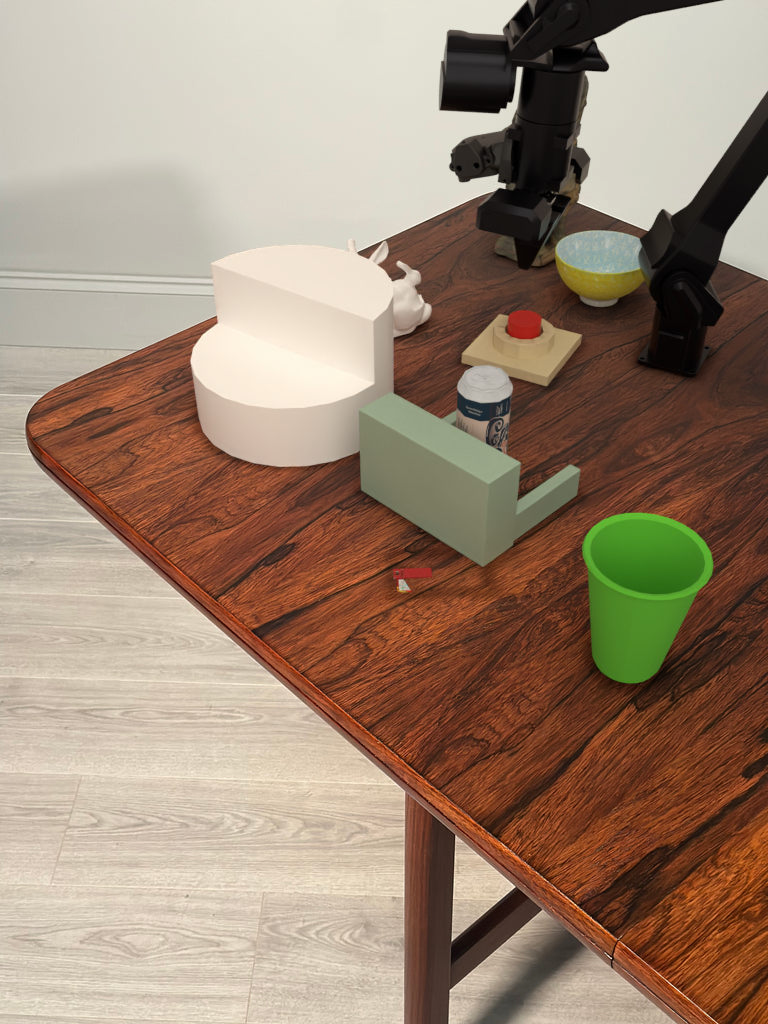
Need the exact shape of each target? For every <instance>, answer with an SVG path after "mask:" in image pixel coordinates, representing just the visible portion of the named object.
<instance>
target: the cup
mask: <svg viewBox="0 0 768 1024" xmlns="http://www.w3.org/2000/svg"><path fill="white" fill-rule="evenodd" d="M581 545H582V546H581V551H582V558H583V560H584V563H585V565H586V567H587V577H588V578H587V579H588V580H587V581H588V601H589V620H590V621H589V623H590V624H589V625H590V642H591V654H592V655H591V656H592V659H593V662H594V664H595V666H596V667H597V668H598V670H599V671H600V672H601V673H602V674H603V675H604V676H606V677H608V678H609V679H611V680H613V681H616V682H619V683H622V684H623V683H625V684H638V683H644V682H645V681H647V680H649V679H651V678H652V677H653V676H654V675H656V674H657V673H658V671H659V670H660V668H661V667H662V664H663V663H664V660H665V658H666V657H667V655H668V652H669V651H670V648H671V647H672V645H673V642H674V641H675V638H676V637H677V634H678V632H679V631H680V628H681V626H682V625H683V623H684V620H685V618H686V617H687V615H688V612H689V610H690V608H691V606H692V604H693V603H694V601H695V599H696V597H697V594H698V592H699V591H700V590H701V589H702V588H703V587H704V586H706V585H707V583H708V582H709V580H710V578H712V575H713V571H714V570H713V569H714V561H713V560H714V559H713V554H712V551H711V550H710V548H709V547H708V545H707V543H706V542H705V540H704V539H703V538H702V537H701V536H700V535H699V534H698V533H697V532H696V531H694V530H693V529H691V528H690V527H688V526H687V525H686V524H684V523H682V522H679V521H677V520H676V519H672V518H670V517H668V516H667V517H666V516H663V515H661V514H657V513H655V514H654V513H647V512H624V513H621V514H619V513H618V514H615V515H614V514H613V515H611V516H609V517H606V518H604V519H602V520H600V521H599V522H598V523H596V524H595V525H593V526H592V527H591V528H590V530H589V531H588V532H587V533H586V535H585V536H584V539H583V542H582V544H581Z"/></svg>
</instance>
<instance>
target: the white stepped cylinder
mask: <svg viewBox="0 0 768 1024" xmlns="http://www.w3.org/2000/svg"><path fill="white" fill-rule="evenodd" d="M210 271H211V279H212V287H213V295H214V303H215V304H214V305H215V311H216V318H217V323H216V324H215V325H213V326H212V327H210V328H209V329H208V330H207V331H205V332H204V333H203V334H201V337H200V338H199V339H198V340H197V342H196V343H195V344H194V345H193V348H192V352H191V356H190V368H191V374H192V382H193V387H194V394H195V401H196V408H197V415H198V420H199V424H200V427H201V430H202V433H203V434H204V435H205V436H206V438H207V439H208V440H209V441H210V442H211V443H212V445H213V446H215V447H216V448H218V449H220V450H221V451H223V452H225V454H227V455H229V456H230V457H234V458H237V459H239V460H243V461H245V462H249V463H252V464H256V465H263V466H269V467H270V466H271V467H278V468H285V467H286V468H287V467H288V468H289V467H290V468H291V467H292V468H293V467H309V466H316V465H321V464H325V463H326V464H327V463H333V462H336V461H338V460H341V459H343V458H346V457H349V456H351V455H355V454H357V453H360V438H359V409H360V408H362V407H364V406H366V405H368V404H370V403H371V402H373V401H375V400H377V399H379V398H380V397H382V396H384V395H386V394H388V393H390V392H392V393H394V390H395V389H394V388H395V387H394V385H395V384H394V382H395V381H394V380H395V379H394V377H395V376H394V374H395V372H394V367H395V366H394V364H395V363H394V361H395V360H394V357H395V356H394V352H395V351H394V350H395V349H394V338H393V284H392V278H391V277H390V276H389V275H388V273H387V271H386V270H385V269H383V268H382V267H381V266H380V265H379V264H378V265H377V264H375V263H374V262H373V261H371V260H369V258H368V257H364V256H362V255H360V254H358V255H357V254H355V253H353V252H349V251H348V250H344V249H339V248H335V247H331V246H324V245H314V244H313V245H312V244H277V245H270V246H262V247H255V248H251V249H247V250H244V251H239V252H236V253H232V254H229V255H226V256H225V257H223V258H220V259H217V260H215V261H213V262H211V263H210ZM390 278H391V279H390ZM394 394H395V393H394Z"/></svg>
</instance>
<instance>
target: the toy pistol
mask: <svg viewBox="0 0 768 1024" xmlns="http://www.w3.org/2000/svg"><path fill="white" fill-rule="evenodd" d="M392 573H393V579H394V580H396V591H397V593H399V594H400V593H412V590H411V589H410V587H409V585H408V584H407V582H406V581H405V579H424V578H433V577H434V576H433V570H432V567H413V568H412V567H411V568H409V567H408V568H393V569H392ZM396 573H398V574H397V575H396Z"/></svg>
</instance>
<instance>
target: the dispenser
mask: <svg viewBox="0 0 768 1024" xmlns="http://www.w3.org/2000/svg"><path fill="white" fill-rule="evenodd" d="M456 414H457V409H455V410H454V411H452V412H450V413H449V414H447V415H446V416H444V417H442V418H440V417H439V416H436V415H434V414H432V413H431V412H429V411H427V410H425V409H423V408H421V407H420V406H418V405H416V404H414V403H413V402H410V401H409V400H407V399H405V398H403V397H401V396H400V395H398V394H396V393H392V392H390V393H388V394H386V395H384V396H382V397H380V398H379V399H377V400H375V401H373V402H371V403H370V404H368V405H366V406H364V407H362V408H360V409H359V438H360V451H359V467H360V468H359V469H360V471H359V473H360V491H361V492H363V493H365V494H366V495H368V496H370V497H371V498H373V499H374V500H375V501H378V503H380V504H382V505H383V506H385V507H387V508H389V509H390V510H392V511H393V512H395V513H396V514H398V515H400V516H401V517H403V518H405V519H406V520H407V521H409V522H411V524H414V525H415V526H417V527H418V528H420V529H422V530H423V531H425V532H426V533H428V534H429V535H431V536H433V537H434V538H436V539H438V540H439V541H441V542H442V543H444V544H445V545H447V546H449V547H450V548H451V549H453V550H455V551H456V552H459V553H460V554H461V555H463V556H464V557H466V558H468V559H469V560H471V561H472V562H474V563H476V564H477V565H479V566H480V567H482V568H484V567H485V566H487V565H488V564H489V563H491V562H492V561H494V560H495V559H496V558H498V557H499V556H501V555H502V554H503V553H505V552H506V551H507V550H509V549H510V548H511V547H513V546H514V542H515V541H516V540H517V539H519V538H520V537H521V536H523V535H524V534H526V533H527V532H529V531H530V530H532V529H533V528H534V527H535V526H537V525H538V524H539V523H541V522H542V521H544V520H545V519H547V518H548V517H549V516H551V515H552V514H553V513H555V512H556V511H557V510H559V509H560V508H561V507H563V506H564V505H566V504H567V503H568V502H570V501H571V500H572V499H574V498H576V496H578V493H579V485H580V484H579V483H580V477H581V471H582V470H581V469H580V468H579V467H577V466H575V465H573V464H571V463H570V464H568V465H567V466H565V467H564V468H563V469H562V470H560V471H558V472H557V473H556V474H554V475H553V476H551V477H549V478H548V479H547V480H545V481H544V482H543V483H541V484H539V485H538V486H537V487H535V488H534V489H532V490H531V491H530V492H528V493H527V494H525V495H524V496H522V497H521V498H520V499H518V498H519V487H520V486H519V485H520V477H521V476H520V475H521V467H522V463H521V461H519V460H517V459H515V458H513V457H512V456H510V455H508V454H507V455H506V454H504V453H502V452H501V451H499V450H497V449H495V448H493V447H491V446H490V445H488V444H486V443H484V442H482V441H480V440H479V439H477V438H475V437H473V436H471V435H469V434H467V433H466V432H464V431H462V430H460V429H458V428H456Z"/></svg>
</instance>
